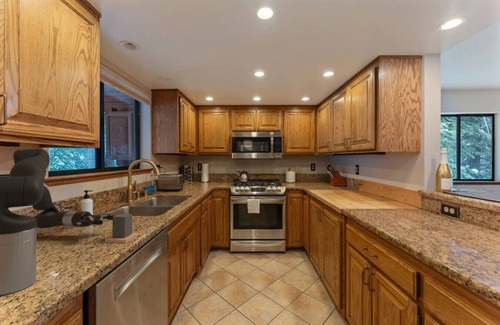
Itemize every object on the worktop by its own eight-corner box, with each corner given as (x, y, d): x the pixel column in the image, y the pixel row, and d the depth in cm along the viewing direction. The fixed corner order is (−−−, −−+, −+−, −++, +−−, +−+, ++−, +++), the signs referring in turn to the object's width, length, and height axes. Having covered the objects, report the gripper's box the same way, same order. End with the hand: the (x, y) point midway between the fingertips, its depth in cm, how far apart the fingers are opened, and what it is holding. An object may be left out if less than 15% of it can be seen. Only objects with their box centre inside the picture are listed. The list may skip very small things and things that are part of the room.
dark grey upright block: (124, 238, 101) (124, 217, 100) (112, 237, 101) (112, 216, 101) (132, 233, 106) (132, 214, 106) (120, 233, 107) (120, 213, 107)
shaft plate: (125, 243, 98) (126, 222, 98) (105, 242, 99) (105, 222, 99) (138, 235, 108) (138, 217, 108) (119, 235, 109) (119, 216, 109)
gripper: (64, 214, 98) (97, 216, 97) (89, 208, 112) (118, 209, 111) (63, 231, 98) (97, 232, 97) (89, 222, 112) (118, 223, 111)
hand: (108, 219), depth 104 cm, fingers open, 8 cm apart
